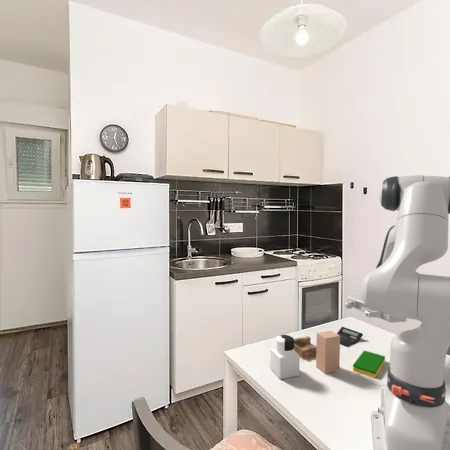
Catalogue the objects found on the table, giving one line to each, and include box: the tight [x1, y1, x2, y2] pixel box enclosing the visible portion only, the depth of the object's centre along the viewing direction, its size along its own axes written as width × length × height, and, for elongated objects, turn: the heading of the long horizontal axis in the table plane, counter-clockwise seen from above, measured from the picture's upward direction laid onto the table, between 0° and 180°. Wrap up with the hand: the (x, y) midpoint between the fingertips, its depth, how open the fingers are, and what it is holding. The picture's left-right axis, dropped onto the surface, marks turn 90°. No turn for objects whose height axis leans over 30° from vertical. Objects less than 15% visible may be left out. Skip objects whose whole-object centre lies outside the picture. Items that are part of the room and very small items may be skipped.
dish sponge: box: [352, 350, 386, 379], centre depth 106 cm, size 7×14×2 cm, turn 141°
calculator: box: [336, 326, 363, 348], centre depth 127 cm, size 9×12×3 cm
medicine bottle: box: [269, 334, 301, 380], centre depth 101 cm, size 7×7×12 cm
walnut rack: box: [293, 336, 317, 360], centre depth 117 cm, size 10×11×3 cm
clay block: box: [315, 330, 341, 375], centre depth 103 cm, size 6×4×12 cm
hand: (356, 310), depth 107 cm, fingers open, 8 cm apart
